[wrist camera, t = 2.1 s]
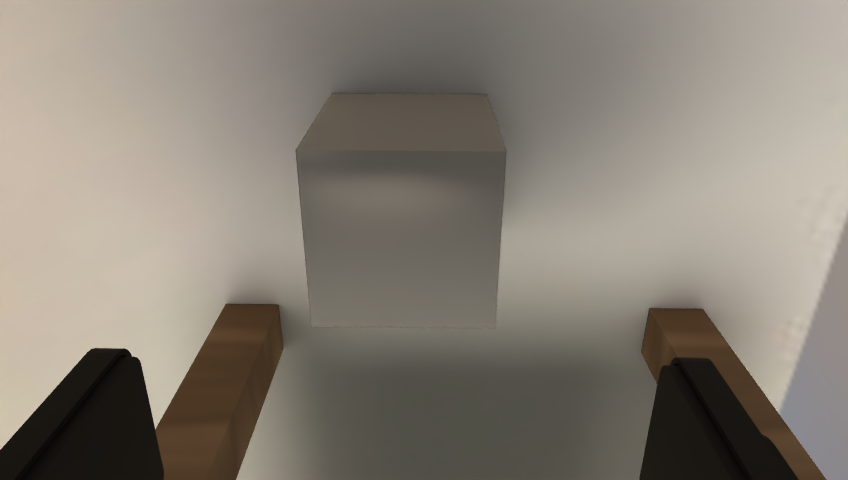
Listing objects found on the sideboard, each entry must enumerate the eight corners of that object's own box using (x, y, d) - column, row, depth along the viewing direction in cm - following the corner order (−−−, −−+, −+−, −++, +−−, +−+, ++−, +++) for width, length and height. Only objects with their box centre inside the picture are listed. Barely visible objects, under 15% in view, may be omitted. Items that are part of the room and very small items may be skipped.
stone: (331, 92, 20) (295, 149, 15) (486, 93, 20) (506, 151, 15) (340, 233, 22) (311, 326, 17) (479, 234, 22) (495, 328, 17)
